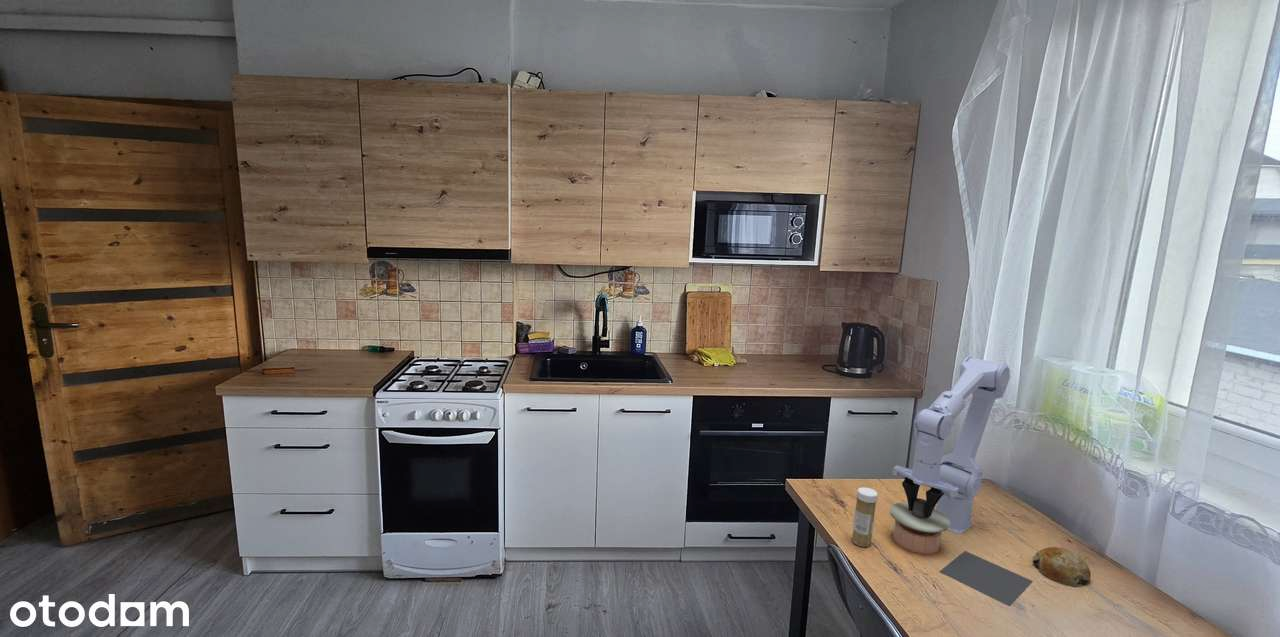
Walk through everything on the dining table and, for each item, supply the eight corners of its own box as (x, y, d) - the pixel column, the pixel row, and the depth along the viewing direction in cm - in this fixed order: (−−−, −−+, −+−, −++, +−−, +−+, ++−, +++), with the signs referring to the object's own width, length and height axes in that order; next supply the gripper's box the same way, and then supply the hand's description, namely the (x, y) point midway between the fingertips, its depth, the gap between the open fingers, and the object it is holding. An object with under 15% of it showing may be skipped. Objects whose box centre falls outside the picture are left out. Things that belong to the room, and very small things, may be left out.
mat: (964, 552, 136) (965, 550, 136) (1032, 583, 125) (1032, 581, 125) (938, 573, 127) (939, 571, 127) (1009, 608, 116) (1009, 606, 116)
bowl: (904, 527, 146) (907, 511, 145) (945, 546, 138) (948, 529, 137) (885, 540, 139) (887, 523, 139) (926, 560, 132) (929, 542, 131)
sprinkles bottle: (875, 544, 137) (882, 492, 135) (863, 550, 135) (870, 497, 132) (858, 535, 141) (865, 484, 139) (847, 540, 138) (853, 489, 136)
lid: (905, 500, 146) (907, 484, 146) (958, 521, 137) (961, 504, 136) (879, 514, 138) (881, 498, 138) (934, 538, 128) (936, 520, 128)
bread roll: (1060, 604, 124) (1084, 583, 120) (1019, 562, 132) (1040, 541, 127) (1083, 592, 129) (1107, 571, 125) (1043, 552, 136) (1064, 532, 132)
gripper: (889, 453, 138) (882, 504, 140) (952, 475, 127) (943, 531, 129) (903, 446, 142) (896, 497, 145) (965, 468, 131) (956, 522, 134)
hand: (919, 512), depth 137 cm, fingers closed on lid, 3 cm apart
